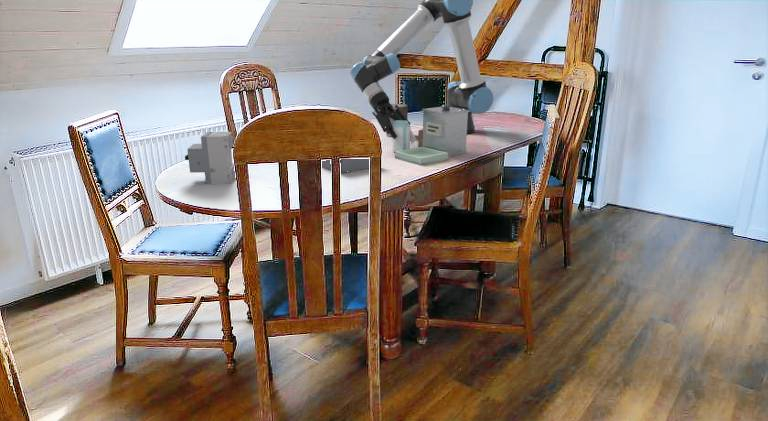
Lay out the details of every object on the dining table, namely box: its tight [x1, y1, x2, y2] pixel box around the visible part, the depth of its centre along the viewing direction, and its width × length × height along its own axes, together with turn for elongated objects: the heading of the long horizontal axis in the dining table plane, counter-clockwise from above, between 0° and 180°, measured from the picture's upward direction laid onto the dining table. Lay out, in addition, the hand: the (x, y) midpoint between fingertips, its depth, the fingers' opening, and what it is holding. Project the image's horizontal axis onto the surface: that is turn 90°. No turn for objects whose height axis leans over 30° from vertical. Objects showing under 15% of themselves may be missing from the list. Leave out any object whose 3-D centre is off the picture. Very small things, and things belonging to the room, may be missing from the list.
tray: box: [394, 146, 449, 166], centre depth 202 cm, size 14×14×2 cm
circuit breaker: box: [184, 131, 236, 185], centre depth 171 cm, size 8×14×15 cm, turn 95°
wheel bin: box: [321, 159, 370, 174], centre depth 191 cm, size 16×14×6 cm
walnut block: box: [417, 128, 423, 147], centre depth 221 cm, size 5×5×7 cm
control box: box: [421, 104, 470, 158], centre depth 210 cm, size 13×13×18 cm
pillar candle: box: [385, 101, 408, 138], centre depth 243 cm, size 10×10×15 cm
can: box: [391, 120, 411, 153], centre depth 212 cm, size 7×7×12 cm
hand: (407, 142), depth 211 cm, fingers closed on can, 7 cm apart
